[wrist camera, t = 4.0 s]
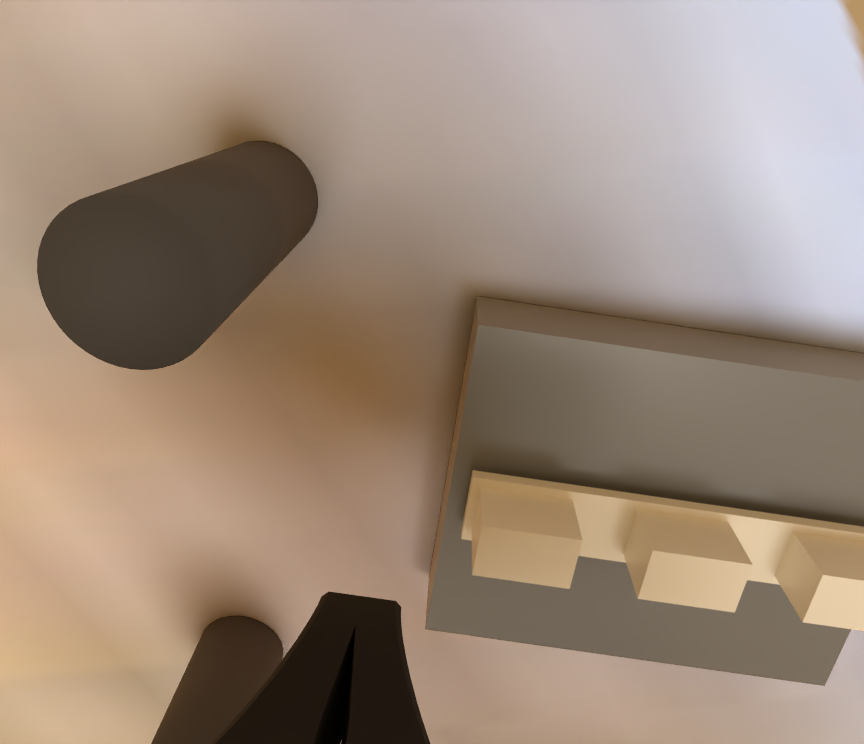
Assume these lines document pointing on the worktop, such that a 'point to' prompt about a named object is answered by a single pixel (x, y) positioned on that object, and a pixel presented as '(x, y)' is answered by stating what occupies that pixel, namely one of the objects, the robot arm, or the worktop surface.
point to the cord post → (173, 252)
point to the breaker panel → (649, 474)
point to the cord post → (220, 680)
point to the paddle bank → (664, 546)
